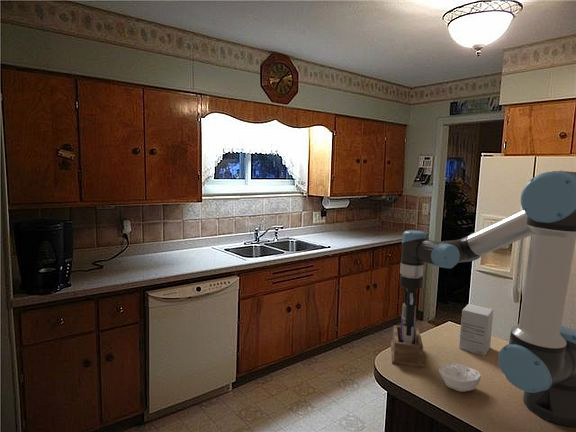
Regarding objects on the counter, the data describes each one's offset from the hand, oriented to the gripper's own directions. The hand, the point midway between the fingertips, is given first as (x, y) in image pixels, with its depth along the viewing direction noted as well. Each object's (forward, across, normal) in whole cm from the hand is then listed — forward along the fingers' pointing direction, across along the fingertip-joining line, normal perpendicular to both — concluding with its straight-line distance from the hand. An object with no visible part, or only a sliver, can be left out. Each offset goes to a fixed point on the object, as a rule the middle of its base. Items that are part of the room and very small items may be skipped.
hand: (407, 340), depth 133 cm
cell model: (+6, -18, -14) cm, 23 cm away
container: (+3, 0, 0) cm, 3 cm away
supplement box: (+6, +12, -25) cm, 28 cm away
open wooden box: (+5, 0, 0) cm, 5 cm away
